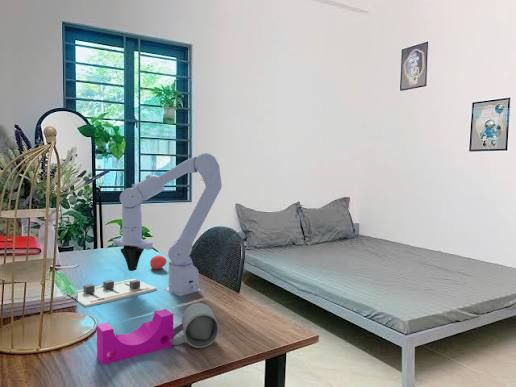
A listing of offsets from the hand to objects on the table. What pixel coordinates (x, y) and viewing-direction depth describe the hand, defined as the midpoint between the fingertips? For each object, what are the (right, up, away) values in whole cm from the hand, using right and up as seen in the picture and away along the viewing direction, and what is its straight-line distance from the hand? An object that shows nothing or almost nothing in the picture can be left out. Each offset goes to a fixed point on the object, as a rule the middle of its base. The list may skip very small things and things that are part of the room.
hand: (132, 270), depth 122 cm
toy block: (+13, -10, -38) cm, 41 cm away
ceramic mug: (+25, -9, -31) cm, 41 cm away
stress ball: (+2, -5, +24) cm, 25 cm away
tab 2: (-7, -5, -2) cm, 9 cm away
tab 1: (-11, -5, -6) cm, 14 cm away
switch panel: (-5, -7, -3) cm, 9 cm away
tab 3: (+1, -5, -1) cm, 5 cm away
